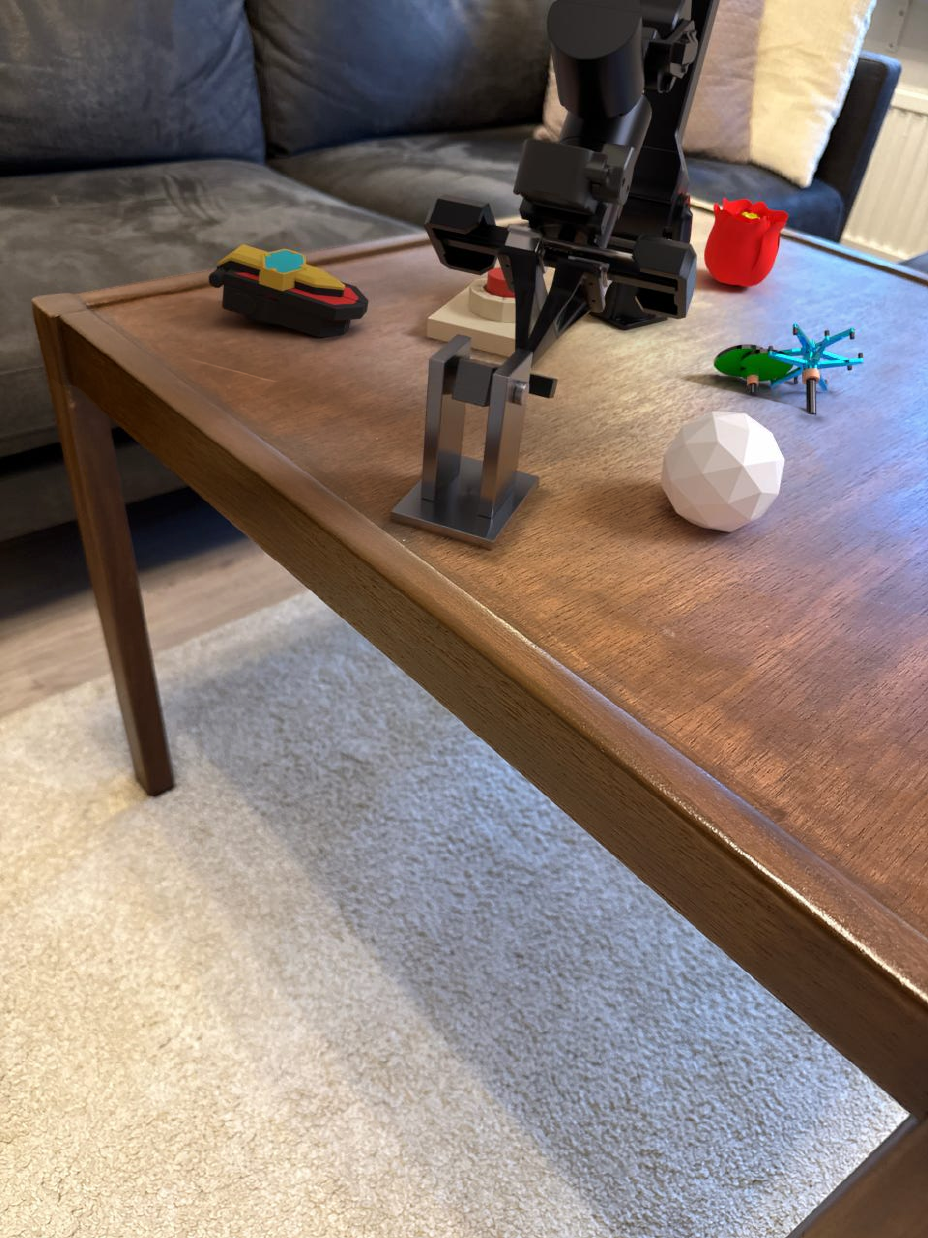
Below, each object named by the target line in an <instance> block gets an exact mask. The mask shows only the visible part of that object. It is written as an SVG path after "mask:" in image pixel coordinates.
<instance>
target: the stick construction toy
mask: <svg viewBox="0 0 928 1238" xmlns="http://www.w3.org/2000/svg"><path fill="white" fill-rule="evenodd" d="M855 333H856V332H855V328H854V327H849V328H848V329H845V330H843V331H841V332H838V333H836V334H835V335H832V336H830V330H829V329H826V330H824V332H823V336H824V337H823V338H822V340H821V341H818V342H816V341H815V340H812V339H811V340H810V339H809V338H808V337H807V335H806V334H805V332H804V331H803V330H802V328H801V327H800V326H799V324H798V323H793V324H792V336H796V338H797V339H798V342H799V343H800V346H801V347H797V348H796V347H795V348H790V349H789V348H787V349H781V350H779V349H774V346H773V345H769V346H768V347H767V348H764V347H762V346H760V345H757V344H752V343H750V344H749V343H744V344H743V343H742V344H737V345H733V346H730V347H728V348H725V349H724V350H722V351H720V352H719V353H718V354H717V355H716V356H715V357H714V359H713V367H714V368H715V369H716V370H717V371H718V372H719V373H721V374H723V375H726V376H728V377H733V378H742V379H744V380H745V381H746V387H747V388H748V395H749V396H750V397H755V396H757V392H758V391H757V389H758V387H759V383H763V382H768V381H769V386H770V387H771V388H773V387H775V386H778V385H780V384H783V383H785V382H787V381H790V380H792V379H793V384H794V385H798V384H799V377H800V376H801V382H802V384H803V385H805V401H806V402H805V411H806V413H807V414H810V415H815V416H817V385H818V386H819V387H820V389H821V390H822V391H823V392H826V391H828V379H824V377H823V375H822V373H821V371H820V370H824V369H832V368H833V369H834V368H841V367H846V371H849V372H851V371H852V370H853V366H858V365H859V366H860V365H863V364H864V353H863V352H858V353H857V358H848V357H845V356H842V355H840V354H836V353H834V352H830V351H827V350H826V349H827V348H828V347H830V346H832V345H834V344H836V343H838V342H840V341H842V340H844V339H845V338H847V337H849V338H848V339H849V340H851V341H853V340H855V338H856V337H855ZM799 357H800V358H799ZM821 359H823V360H821ZM794 366H796V368H794V369H793V367H794ZM792 369H793V370H792Z"/></svg>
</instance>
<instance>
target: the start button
mask: <svg viewBox="0 0 928 1238" xmlns="http://www.w3.org/2000/svg"><path fill="white" fill-rule="evenodd" d="M487 277H488V278H487ZM487 277H486V278H487V288H486V292H488V293H489V294H491V295H494V296H499V297H503V298H515V294H514V293H512V292H510V291H509V290H508V288H507V285H506V282H505V279H504V276H503V273H502V270H501V267H500V266H499V267H494V268H493V269H492V270H490V271H488V272H487Z"/></svg>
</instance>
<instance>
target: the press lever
mask: <svg viewBox="0 0 928 1238" xmlns="http://www.w3.org/2000/svg"><path fill="white" fill-rule="evenodd" d="M501 365H502V364H498V363H495V362H488V361H484V360H480V359H476V358H470V359H459V363H458V368H457V373H456V378H455V383H454V388H453V393H452V397H451V398H452V399H454V400H457V401H461V402H465V403H466V404H469V405H473V406H478V407H481V408H489V403H490V394H491V384H492V375H493V373H494V372H495V371H496V370H497V369H498V368H499V367H500V366H501ZM558 381H559V379H558V378H556V377H551V376H547V375H543V374H538V373H534V372H531V371H530V377H529V393H528V395H532V396H536V397H541V398H544V399H554V398H555V394H556V391H557V390H556V389H557V385H558Z"/></svg>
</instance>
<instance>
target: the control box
mask: <svg viewBox="0 0 928 1238" xmlns="http://www.w3.org/2000/svg"><path fill="white" fill-rule="evenodd" d="M487 278H488V276H487V277H482V278H477V279H475V280H474V281H473V282H471V283H470V284H469V285H468V286H467V287H466V288H464V289H463V290H462V291H460V292H459V293H458V294H456V295H455V296H454V297H453V298H451V299H449V301H448V302H446V303H445V304H443V305H442V306H441V307H440V308H438V309H437V310H436V311H435V312H433V313H432V314H431V315H429V317H427V319H426V320H427V323H426V335H425V336H426V338H428V339H429V338H430V339H434V340H438V341H443V342H446V343H448V342H449V341H450V340H451V339H452V338H454V337H455V336H456V335H457V334H460V335H465V336H469V337H472V342H471V349H474V350H479V351H484V352H487V353H491V354H495V355H498V356H499V355H500V356H503V357H508V358H509V357H510V356H511V355H512V354H513V353H514V352H515V298H503V297H499V296H494V295H491V294H489V293H488V292H486V288H487Z"/></svg>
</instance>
